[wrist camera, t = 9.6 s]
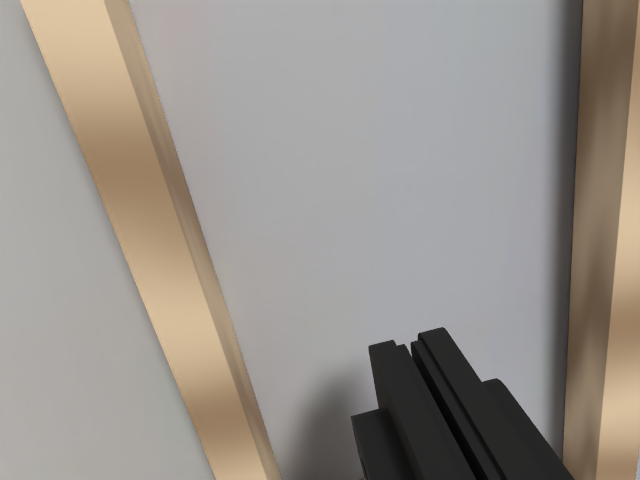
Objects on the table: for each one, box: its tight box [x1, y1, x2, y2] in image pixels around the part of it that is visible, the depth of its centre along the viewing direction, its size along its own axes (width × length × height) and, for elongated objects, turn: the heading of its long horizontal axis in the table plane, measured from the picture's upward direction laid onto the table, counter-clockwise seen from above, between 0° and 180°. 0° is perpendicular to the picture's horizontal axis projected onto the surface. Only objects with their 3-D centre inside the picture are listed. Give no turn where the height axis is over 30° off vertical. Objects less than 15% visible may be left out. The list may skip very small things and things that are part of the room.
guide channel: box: [20, 0, 640, 480], centre depth 15 cm, size 27×14×2 cm, turn 11°
